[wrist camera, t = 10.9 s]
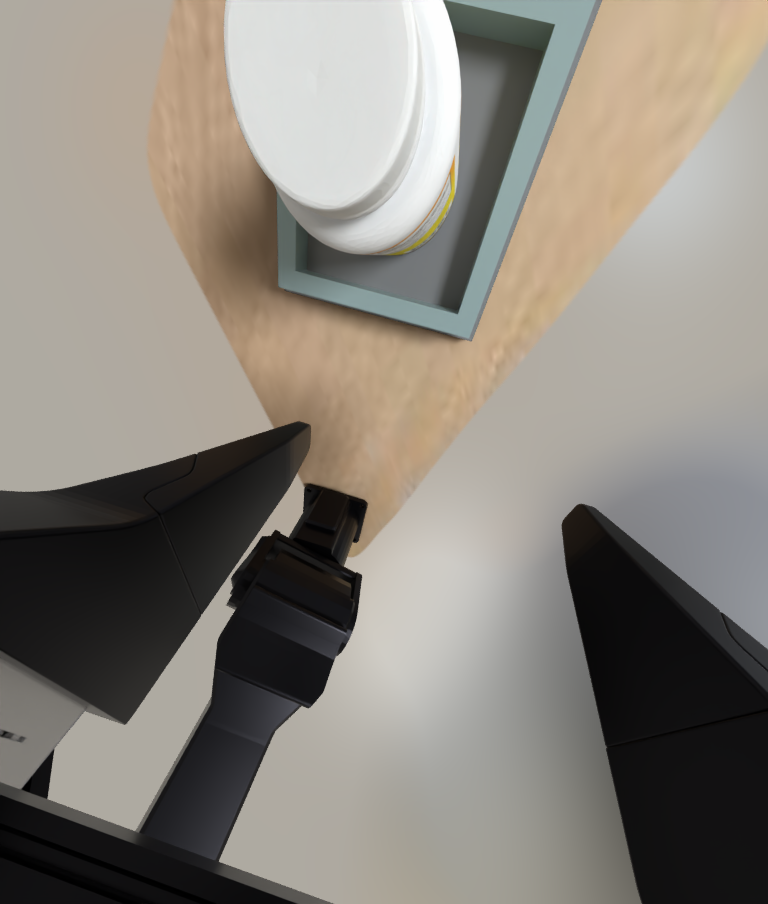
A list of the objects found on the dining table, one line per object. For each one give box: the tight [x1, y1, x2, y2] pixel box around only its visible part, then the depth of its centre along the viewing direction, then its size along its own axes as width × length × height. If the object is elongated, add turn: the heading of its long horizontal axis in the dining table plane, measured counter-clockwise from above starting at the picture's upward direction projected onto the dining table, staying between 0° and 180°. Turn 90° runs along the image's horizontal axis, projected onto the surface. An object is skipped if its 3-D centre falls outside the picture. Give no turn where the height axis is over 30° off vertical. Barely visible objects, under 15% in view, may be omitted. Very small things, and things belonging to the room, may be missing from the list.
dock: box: [277, 0, 602, 341], centre depth 13 cm, size 12×12×2 cm
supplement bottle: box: [224, 0, 461, 255], centre depth 10 cm, size 6×6×10 cm
